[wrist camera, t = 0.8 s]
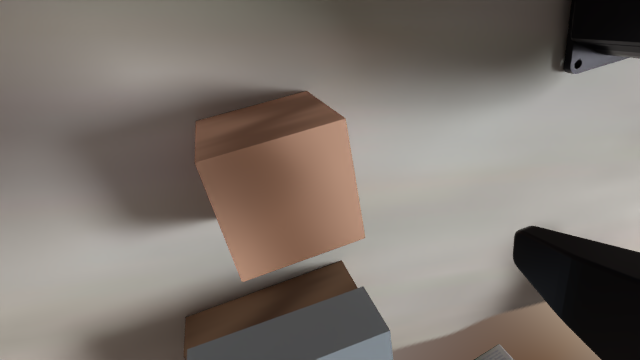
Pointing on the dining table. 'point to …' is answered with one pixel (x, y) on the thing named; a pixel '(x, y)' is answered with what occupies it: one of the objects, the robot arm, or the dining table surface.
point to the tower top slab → (309, 334)
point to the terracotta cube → (279, 181)
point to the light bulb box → (495, 354)
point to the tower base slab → (267, 304)
